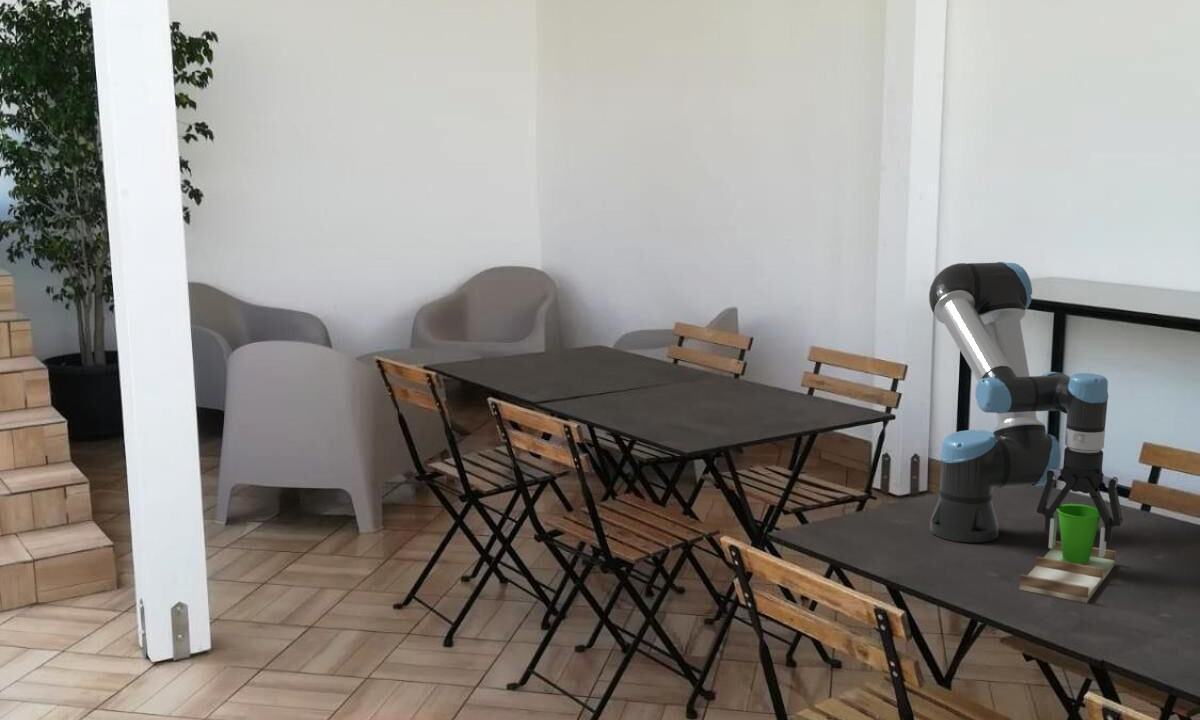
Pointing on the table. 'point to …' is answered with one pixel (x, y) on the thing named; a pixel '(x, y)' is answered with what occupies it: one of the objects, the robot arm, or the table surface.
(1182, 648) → the table surface
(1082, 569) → the wooden divided tray
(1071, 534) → the cup
